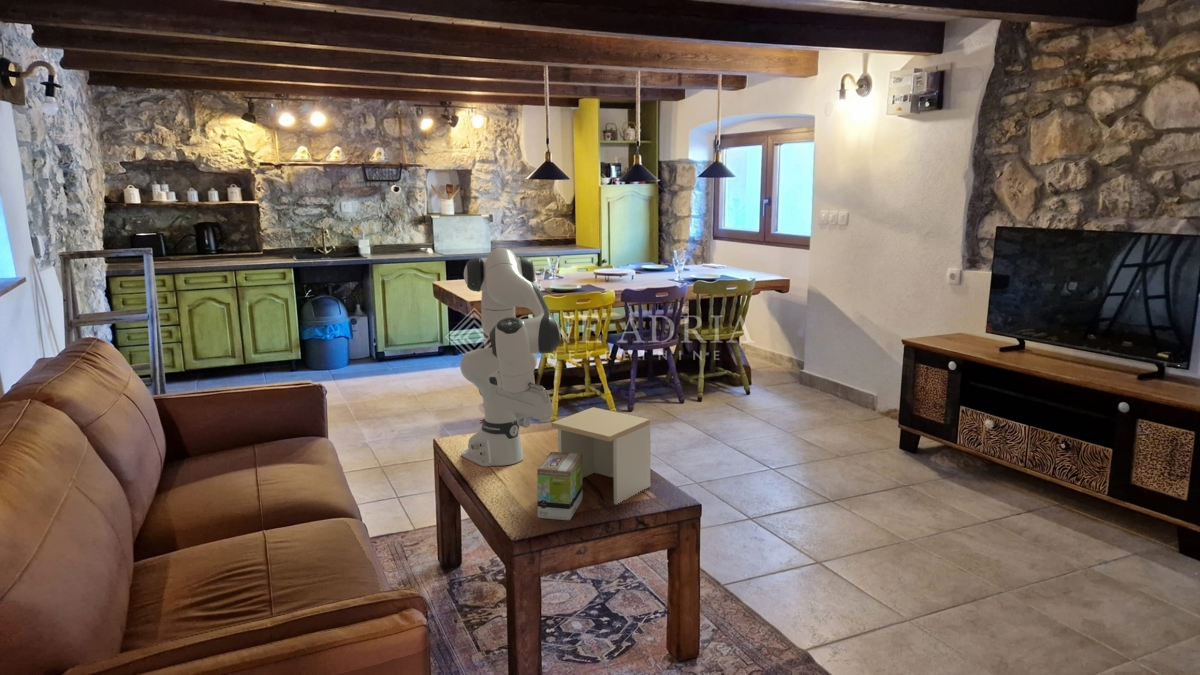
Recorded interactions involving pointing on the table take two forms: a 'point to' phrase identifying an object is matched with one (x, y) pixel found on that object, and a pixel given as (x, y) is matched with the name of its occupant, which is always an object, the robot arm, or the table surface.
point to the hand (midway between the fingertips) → (523, 425)
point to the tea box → (560, 485)
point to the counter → (609, 447)
